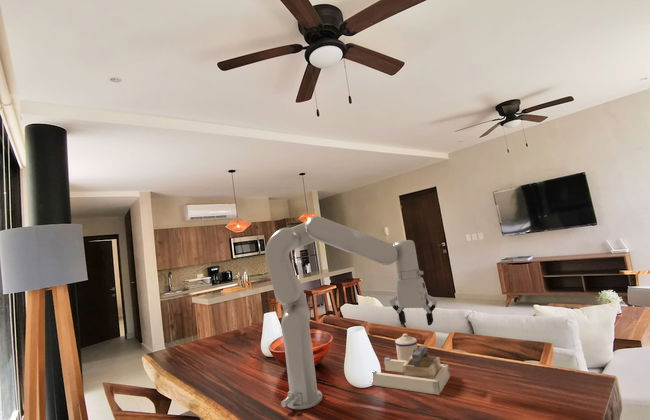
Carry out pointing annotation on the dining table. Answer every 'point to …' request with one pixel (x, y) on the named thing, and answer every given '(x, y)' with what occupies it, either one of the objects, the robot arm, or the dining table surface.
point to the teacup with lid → (405, 347)
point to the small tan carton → (422, 364)
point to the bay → (410, 378)
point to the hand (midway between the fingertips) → (416, 323)
